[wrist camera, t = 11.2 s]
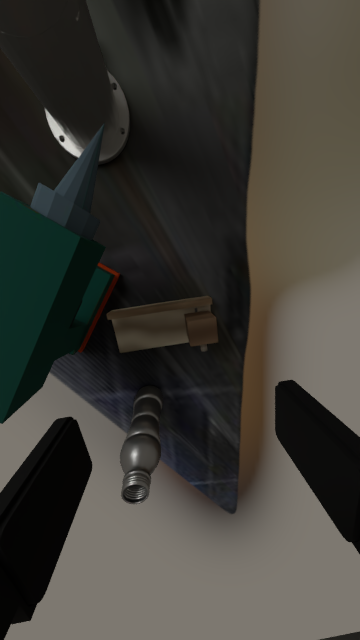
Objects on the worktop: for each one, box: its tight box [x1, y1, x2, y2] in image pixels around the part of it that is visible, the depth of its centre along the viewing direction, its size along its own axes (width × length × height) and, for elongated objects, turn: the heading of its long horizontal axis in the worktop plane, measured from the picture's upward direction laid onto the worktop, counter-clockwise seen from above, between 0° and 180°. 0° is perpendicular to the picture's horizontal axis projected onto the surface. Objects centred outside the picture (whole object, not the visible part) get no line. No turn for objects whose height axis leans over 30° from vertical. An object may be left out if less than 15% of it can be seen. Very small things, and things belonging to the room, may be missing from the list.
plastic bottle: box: [120, 385, 163, 504], centre depth 33 cm, size 6×7×20 cm
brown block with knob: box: [184, 310, 218, 352], centre depth 35 cm, size 6×5×6 cm
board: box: [107, 296, 212, 353], centre depth 37 cm, size 9×20×4 cm, turn 98°
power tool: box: [0, 123, 120, 424], centre depth 26 cm, size 32×7×20 cm, turn 150°
